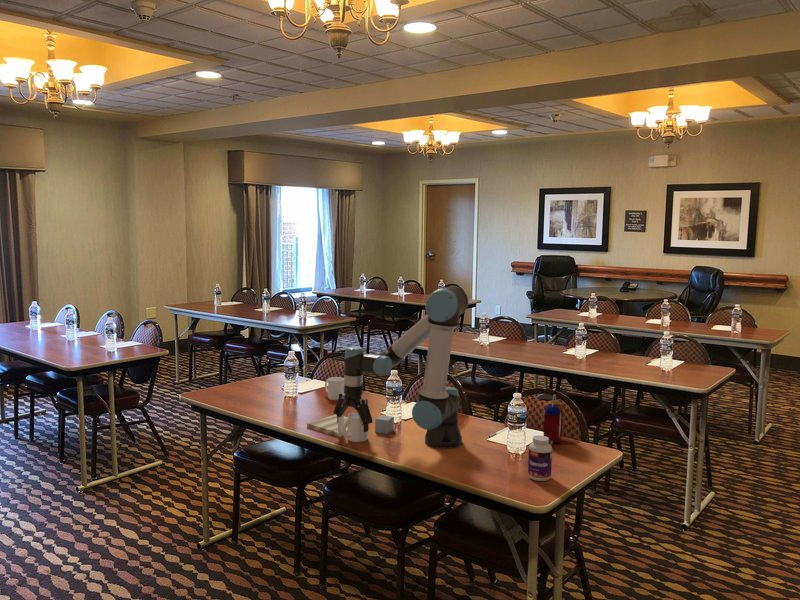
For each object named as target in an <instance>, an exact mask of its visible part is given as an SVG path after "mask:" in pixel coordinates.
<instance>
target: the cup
mask: <svg viewBox="0 0 800 600" xmlns="http://www.w3.org/2000/svg"><path fill="white" fill-rule="evenodd" d="M344 385H345V384H344V377H341V376H334V377H329V378H327V379H326V380H325V383H324V390H325V392H326V393H327V398H328V400H330V401H338V399H339V394H341V393H344Z"/></svg>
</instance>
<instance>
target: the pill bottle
mask: <svg viewBox="0 0 800 600" xmlns="http://www.w3.org/2000/svg"><path fill="white" fill-rule="evenodd" d="M527 458H528V459H527V460H528V461H527V475H528V478H530V479H531V480H533V481H535V482H536V481H537V482H545V481H546V482H547V481H549V480H550V479H551V477H552V463H553V462H552V460H553V447H552V446H551V444H550V441H549V438H548V437H546V436H544V435H533V436H532V442H531V443H529V446H528V457H527Z"/></svg>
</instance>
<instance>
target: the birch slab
mask: <svg viewBox="0 0 800 600" xmlns="http://www.w3.org/2000/svg"><path fill="white" fill-rule="evenodd" d="M343 416H344V423H345V422H346V421H348V416H345V415H343ZM369 426H370V424H368V428H369ZM306 428H308V429H310V430H313V431H318V432H320V433H323V434H328V435H331V436H334V437H337V438H341V437H344V436H343V433H342V432H338V423H337V415H336V414H333V415H329V416H326V417H322V418H319V419H316V420H313V421H310V422H307V423H306ZM346 434H347V435H348V425H347V427H346Z"/></svg>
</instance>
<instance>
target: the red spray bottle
mask: <svg viewBox="0 0 800 600" xmlns="http://www.w3.org/2000/svg"><path fill="white" fill-rule="evenodd" d="M563 406H564V404H563V402H561V401H559V400H557V395H556V394H553V397H552V400H550V401H549V402H548V403H547V404H546V406H545V409H544V411H543V412H541V414H542V415H541V417H542V418H544V419H541V418H540V419H538V420H539V421H540V422H543V425H541V426H540V427H541V428H543V436H546V437H548V438H549V444H550V445H551V447H552V446H553V443H561V439H562V435H563V422H564V421H563V417H564V416H563V410H564V409H563Z"/></svg>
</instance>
